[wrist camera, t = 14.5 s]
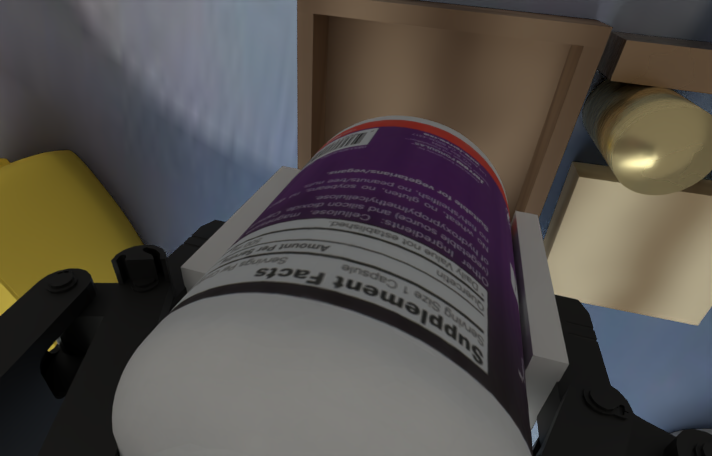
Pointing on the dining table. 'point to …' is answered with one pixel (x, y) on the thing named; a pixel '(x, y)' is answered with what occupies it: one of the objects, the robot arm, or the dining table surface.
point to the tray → (450, 79)
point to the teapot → (56, 223)
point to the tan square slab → (632, 246)
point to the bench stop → (652, 112)
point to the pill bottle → (348, 316)
